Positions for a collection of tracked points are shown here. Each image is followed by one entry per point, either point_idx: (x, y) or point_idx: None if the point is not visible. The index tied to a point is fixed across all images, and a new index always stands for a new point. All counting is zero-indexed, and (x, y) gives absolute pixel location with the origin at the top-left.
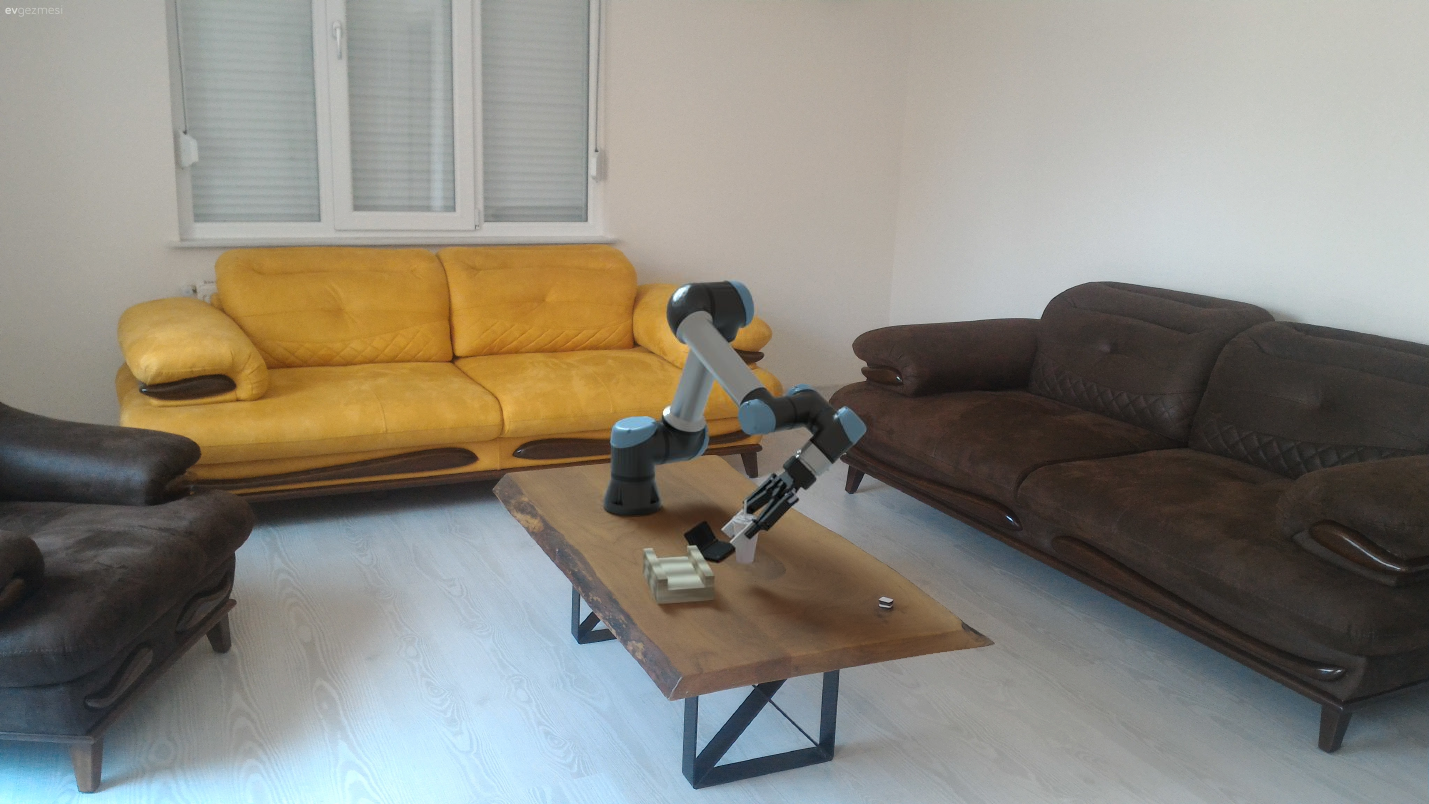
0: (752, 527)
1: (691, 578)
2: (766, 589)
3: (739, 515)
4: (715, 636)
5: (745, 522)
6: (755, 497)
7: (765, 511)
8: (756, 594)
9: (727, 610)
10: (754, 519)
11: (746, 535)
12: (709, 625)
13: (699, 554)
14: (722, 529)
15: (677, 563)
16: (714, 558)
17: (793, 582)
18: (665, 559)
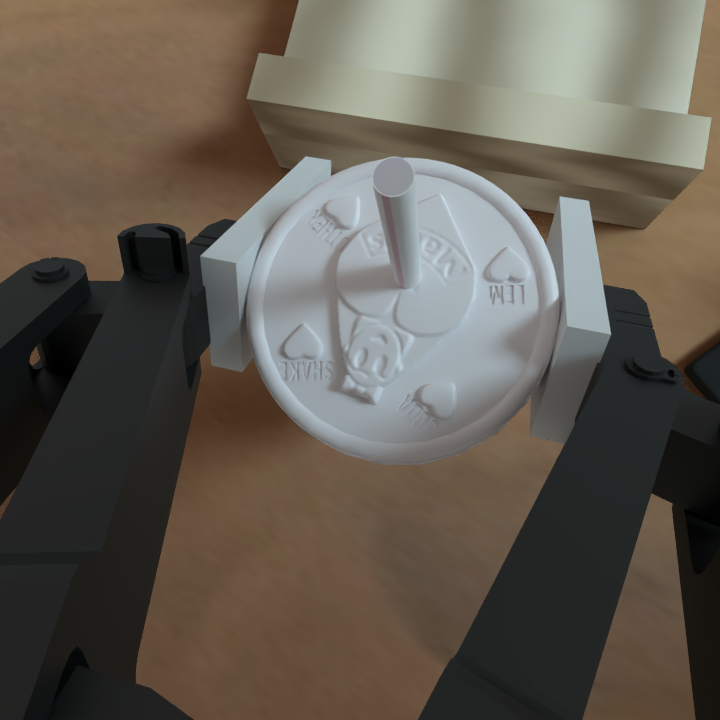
0: (197, 263)
1: (393, 71)
2: (281, 440)
3: (512, 264)
4: (6, 52)
5: (321, 246)
6: (629, 503)
7: (78, 367)
8: (253, 368)
9: (169, 179)
10: (137, 239)
11: (218, 226)
12: (89, 65)
13: (553, 134)
14: (574, 201)
15: (599, 73)
16: (712, 357)
17: (299, 617)
18: (675, 35)
